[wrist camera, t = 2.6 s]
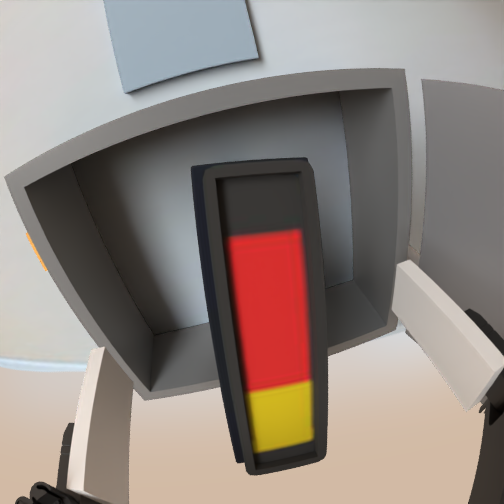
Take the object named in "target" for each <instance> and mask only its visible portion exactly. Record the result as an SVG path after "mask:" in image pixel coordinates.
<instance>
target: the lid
mask: <svg viewBox="0 0 504 504" xmlns="http://www.w3.org/2000/svg"><path fill="white" fill-rule="evenodd" d="M421 80H422V89H423V99H424V110H425V126H426V195H425V211H424V223H423V234H422V243H421V251H420V259H419V266H418V267H419V268H420V269H421V270H422V271H423V272H424V273H425V274H426V275H427V276H428V277H429V278H431V279H432V280H433V281H434V282H435V283H436V284H437V285H438V286H439V287H440V288H441V289H442V290H443V291H444V292H445V293H446V294H447V295H448V296H449V297H450V298H451V299H452V300H453V301H454V302H455V303H456V304H457V305H458V306H459V307H460V308H461V309H462V310H463V311H466V310H467V309H469V308H470V309H472V310H473V311H475V312H477V313H479V314H480V315H481V316H482V317H483V318H484V319H485V320H486V321H487V323H488V324H490V325H491V326H492V327H493V330H495V331H496V332H497V333H498V334H499V335H500V336H501V337H502V338H503V340H504V90H500V89H495V88H490V87H485V86H479V85H473V84H466V83H458V82H450V81H441V80H429V79H421ZM405 333H406V334H407V335H408V336H410V337H411V338H412V339H413V340H414V341H415V342H416V340H415V339H414V338H413V336H412V335H411V334H410V332H409V331H408V330H407V329H406V332H405ZM416 343H417V342H416ZM486 400H487V396H486V395H484V397H483V398H482V399H481V401H480V402H481V403H482V404H483V403H484V402H485V401H486Z"/></svg>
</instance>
